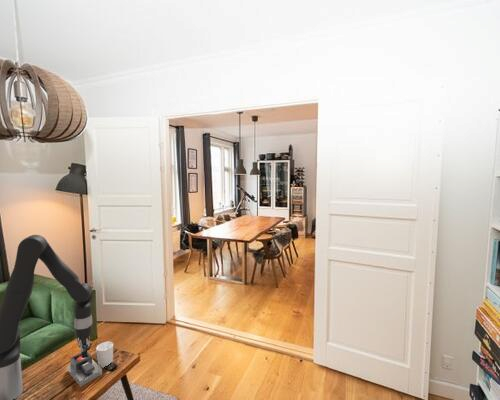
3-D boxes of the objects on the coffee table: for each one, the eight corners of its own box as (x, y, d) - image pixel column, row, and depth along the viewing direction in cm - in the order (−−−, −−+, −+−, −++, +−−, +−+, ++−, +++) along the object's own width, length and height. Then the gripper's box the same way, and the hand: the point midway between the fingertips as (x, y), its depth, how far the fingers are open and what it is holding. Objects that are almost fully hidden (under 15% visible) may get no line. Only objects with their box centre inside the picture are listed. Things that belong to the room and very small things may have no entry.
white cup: (102, 370, 136) (101, 352, 135) (94, 365, 141) (93, 347, 140) (116, 361, 143) (116, 344, 142) (108, 356, 147) (107, 339, 146)
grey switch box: (80, 386, 126) (79, 373, 125) (67, 371, 136) (67, 358, 135) (102, 374, 134) (101, 361, 133) (88, 360, 144) (88, 348, 143)
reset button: (78, 365, 134) (78, 362, 134) (74, 361, 136) (74, 359, 136) (87, 360, 137) (87, 358, 137) (84, 357, 140) (84, 354, 140)
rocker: (87, 374, 128) (86, 370, 128) (81, 368, 133) (81, 365, 133) (94, 369, 131) (94, 366, 131) (88, 364, 135) (88, 361, 135)
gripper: (70, 322, 132) (70, 355, 134) (80, 332, 124) (81, 367, 126) (86, 316, 138) (87, 347, 140) (97, 326, 130) (98, 358, 132)
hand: (84, 356), depth 133 cm, fingers closed
